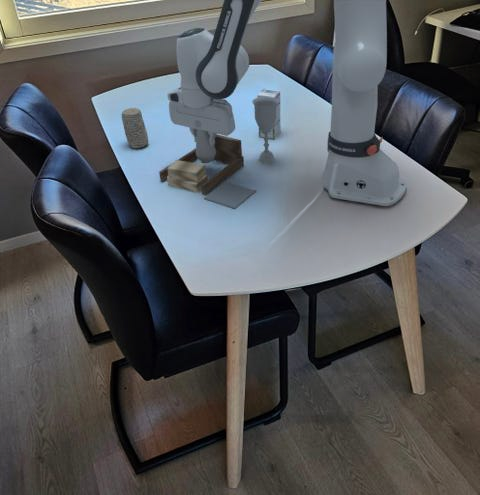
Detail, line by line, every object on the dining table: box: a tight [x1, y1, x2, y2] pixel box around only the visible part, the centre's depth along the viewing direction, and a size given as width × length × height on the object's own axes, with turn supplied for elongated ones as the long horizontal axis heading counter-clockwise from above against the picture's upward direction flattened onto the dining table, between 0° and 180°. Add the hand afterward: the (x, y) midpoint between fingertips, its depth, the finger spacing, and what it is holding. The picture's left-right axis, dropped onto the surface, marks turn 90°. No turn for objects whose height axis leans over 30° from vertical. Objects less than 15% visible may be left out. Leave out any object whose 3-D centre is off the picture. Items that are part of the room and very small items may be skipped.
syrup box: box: [256, 88, 282, 140], centre depth 154 cm, size 6×6×14 cm
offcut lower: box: [166, 174, 209, 194], centre depth 135 cm, size 10×6×3 cm, turn 59°
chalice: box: [251, 97, 278, 165], centre depth 139 cm, size 7×7×18 cm
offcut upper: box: [167, 159, 207, 183], centre depth 133 cm, size 9×5×3 cm, turn 67°
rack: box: [158, 134, 245, 196], centre depth 138 cm, size 16×19×8 cm
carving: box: [121, 107, 149, 149], centre depth 154 cm, size 6×8×12 cm
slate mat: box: [203, 181, 257, 210], centre depth 130 cm, size 10×10×1 cm
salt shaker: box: [195, 120, 216, 164], centre depth 135 cm, size 6×6×13 cm
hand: (204, 143), depth 136 cm, fingers closed on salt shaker, 3 cm apart
